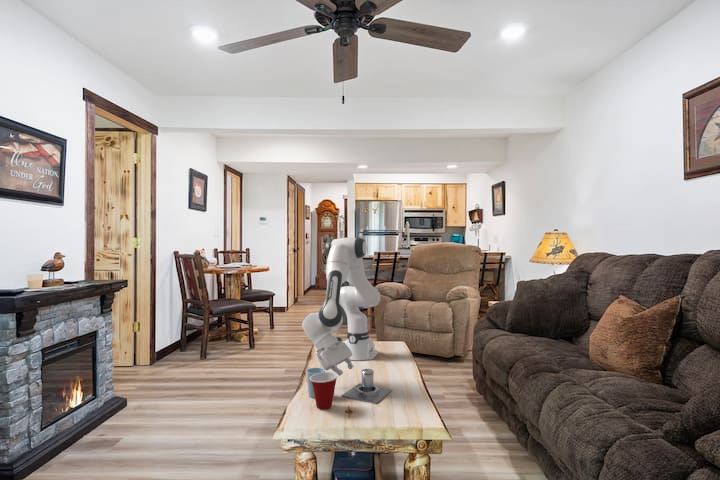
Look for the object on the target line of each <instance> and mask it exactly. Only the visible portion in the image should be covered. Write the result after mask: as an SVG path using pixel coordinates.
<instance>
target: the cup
mask: <svg viewBox="0 0 720 480" xmlns="http://www.w3.org/2000/svg"><path fill="white" fill-rule="evenodd" d="M305 371H306V379H307V390H308V391H307V392H308V397H309V398H312V399H315V396H314V390H313V385H312V382H311V380H310V377H311V376H312V375H314V374H317V373H322V372H326V370H325V369H324V368H323V367H310V368H308V369H306V370H305Z"/></svg>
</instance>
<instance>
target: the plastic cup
mask: <svg viewBox="0 0 720 480" xmlns="http://www.w3.org/2000/svg"><path fill="white" fill-rule="evenodd" d="M338 377H339V375H338V374H337V373H336V372H334V371H333V372H330V371H325V372H322V373H317V374H314V375H312V376H311V377H310V380H311V382H312V385H313V390H314V396H315V398H314V399H315V406H316V408H317V409H318V410H321V411H324V410H330V409H331V408H332V405H333V402H334V401H333V400H334V395H335V390H336V385H337V378H338Z"/></svg>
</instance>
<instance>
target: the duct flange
mask: <svg viewBox="0 0 720 480" xmlns="http://www.w3.org/2000/svg"><path fill="white" fill-rule="evenodd" d="M392 392H393V389H392V388H387V387H381V386H377V385H374V384H373V391H370V392H365V391H362V383H357V384H356V385H355V386H353V387H352V388H350V389H349V390H348V391H346V392H344V393H343V394H341V398H346V399H350V400H355V401H359V402H365V403H369V404H374V405H375V404H376V405H377V404H379V403H380V402H381V401H382V400H383V399H385V398H386V397H387V396H388V395H390V394H391V393H392Z"/></svg>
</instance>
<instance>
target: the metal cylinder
mask: <svg viewBox="0 0 720 480" xmlns="http://www.w3.org/2000/svg"><path fill="white" fill-rule="evenodd" d="M360 373H361V384H362V391H365V392H370V391H373V385H374V374H375V371H374V370H373V369H371V368H363V369H361V371H360Z"/></svg>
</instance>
